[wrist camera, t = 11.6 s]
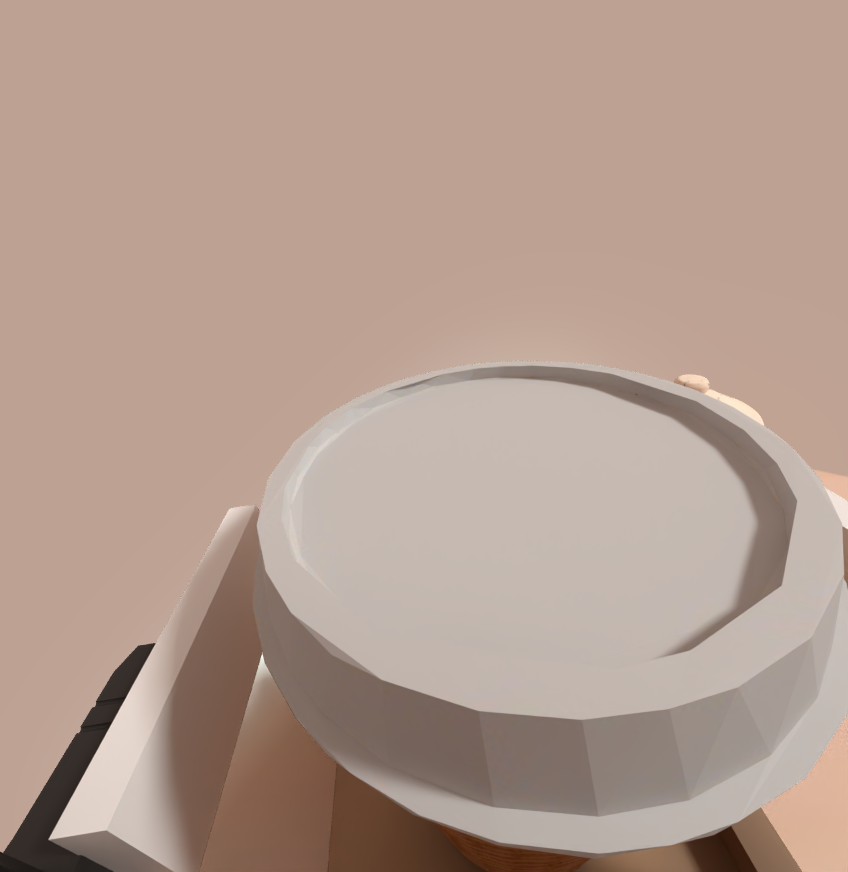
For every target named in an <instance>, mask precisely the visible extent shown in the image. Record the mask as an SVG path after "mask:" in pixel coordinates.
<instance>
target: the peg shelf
mask: <svg viewBox="0 0 848 872" xmlns="http://www.w3.org/2000/svg"><path fill="white" fill-rule="evenodd" d="M328 872H486V871H485V870H483V869H482V868H480V867H478V866H477V865H475V864H474V863H472V862H470V861H469V860H468V859H467V858H466V857H465V856H464V855H463V854H462V853H461V852H460V851H459V850H458V849H457V848H456V847H455V846H454V845H453V843H452V842H451V841H450V840H449V839H448V837H447V836H446V835H445V834H444V833H443V832H442V831H441V830H440V829H439V828H438V827H437V826H436V825H435V823H434V822H432V821H429V820H426V819H423V818H421V817H418V816H415V815H413V814H411V813H410V812H408V811H407V810H405V809H404V808H402V807H401V806H399V805H398V804H396V803H395V802H393V801H392V800H390V799H389V798H387V797H386V796H384V795H383V794H381V793H380V792H378V791H377V790H375V789H374V788H372V787H371V786H369V785H368V784H366V783H365V782H363V781H362V780H360V779H359V778H357V777H356V776H354V775H353V774H351V773H350V772H348V771H347V770H346V769H344V768H343V767H342V766H341V765H339V764H338V763H337V769H336V781H335V792H334V804H333V815H332V827H331V838H330V850H329V861H328ZM574 872H802V871H801V869H800V868H799V866H798V865H797V863H796V862H795V860H794V859H793V857H792V855H791V854H790V852H789V851H788V849H787V848H786V846H785V845H784V843H783V841H782V840H781V838H780V837H779V835H778V834H777V832H776V831H775V829H774V827H773V826H772V824H771V823H770V821H769V820H768V818H767V817H766V815H765V814H764V812H763V810H762V809H761V807H760V808H759V809H757V810H756V811H754V812H753V813H751V814H750V815H748V816H747V817H745V818H744V819H742V820H741V821H739V822H737V823H735V824H733V825H732V826H730V827H728V828H726V829H724V830H722V831H720V832H718V833H717V834H715V835H712V836H708V837H704V838H700V839H695V840H691V841H687V842H683V843H679V844H674V845H670V846H664V847H659V848H653V849H647V850H641V851H636V852H630V853H624V854H619V855H613V856H607V857H602V858H596V859H592V858H591V859H590V860H588V861H587V862H585V863H584V864H583V865H582V866H581V867H580V868H579V869H577V870H575V871H574Z"/></svg>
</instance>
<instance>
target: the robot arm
mask: <svg viewBox="0 0 848 872" xmlns="http://www.w3.org/2000/svg"><path fill="white" fill-rule="evenodd" d="M825 489H826V491H827V493H828V495H829V498H830V500H831V502H832V504H833V506H834V508H835V510H836V512H837V514H838V516H839V518H840V520H841V522H842V531H843V557H844V580H845V581H846V583H847V588H848V501H846V500H845V499H843V498H841V497H840V496H838V495H837V494H835V493H833V492H832V491H830V490H828V489H827V488H825ZM259 513H260V512H259V509H258V507H257V505H250V506H243V507H236V508H230V509H229V510H228V512H227V514H226V516H225V518H224V520H223V521H222V523H221V525H220V527H219V529H218V531H217V532H216V535H215V536H214V538H213V540H212V542H211V543H210V545H209V547H208V549H207V551H206V553H205V554H204V556H203V558H202V560H201V562H200V563H199V565H198V567H197V569H196V571H195V573H194V574H193V576H192V578H191V580H190V582H189V584H188V585H187V587H186V589H185V591H184V593H183V595H182V596H181V598H180V600H179V602H178V604H177V606H176V607H175V609H174V611H173V613H172V615H171V617H170V618H169V620H168V622H167V624H166V626H165V627H164V629H163V631H162V633H161V635H160V637H159V639H158V640H157V642H156V643H153V644H147V645H140V646H138V647H137V648H136V649H135V650H134V651H133V652H132V653H131V654H130V655H129V656H128V657H127V658H126V659H125V661H124V662H123V663H122V664H121V665H120V666H119V667H118V668H117V669H116V670H115V671H114V673H113V674H112V676H111V677H110V679H109V681H108V682H107V684H106V686H105V688H104V689H103V691H102V692H101V694H100V696H99V697H98V699H97V701H96V706H95V707H93V708H92V709H91V711H90V712H89V714H88V716H87V717H86V719H85V720H84V722H83V724H82V725H81V731H80V732H79V733H77V734H76V735H75V737H74V739H73V740H72V742H71V744H70V745H69V747H68V749H67V750H66V752H65V753H64V755H63V757H62V758H61V760H60V762H59V763H58V765H57V767H56V768H55V770H54V772H53V773H52V775H51V777H50V778H49V780H48V782H47V783H46V785H45V787H44V788H43V790H42V791H41V793H40V795H39V797H38V798H37V800H36V801H35V803H34V805H33V806H32V808H31V810H30V811H29V813H28V815H27V816H26V818H25V820H24V821H23V823H22V824H21V826H20V828H19V829H18V831H17V833H16V834H15V836H14V838H13V839H12V841H11V842H10V844H9V845H8V847H7V848H6V849H5V851H4V852H3V853H2V852H0V872H199V870H200V867H201V863H202V860H203V856H204V853H205V849H206V846H207V842H208V839H209V835H210V832H211V828H212V825H213V821H214V818H215V815H216V811H217V808H218V804H219V801H220V797H221V794H222V790H223V787H224V783H225V780H226V776H227V773H228V769H229V766H230V762H231V759H232V755H233V752H234V749H235V745H236V742H237V738H238V735H239V731H240V728H241V724H242V721H243V717H244V714H245V710H246V707H247V703H248V700H249V696H250V693H251V690H252V686H253V683H254V679H255V676H256V672H257V669H258V665H259V662H260V658H261V655H262V648H261V643H260V639H259V634H258V630H257V625H256V621H255V616H254V612H253V608H252V601H253V591H254V580H255V569H256V559H257V556H258V553H259V551H260V547H259V540H258V533H257V526H256V525H257V521H258V517H259Z"/></svg>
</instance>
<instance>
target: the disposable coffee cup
mask: <svg viewBox="0 0 848 872" xmlns="http://www.w3.org/2000/svg"><path fill="white" fill-rule="evenodd" d="M256 526H257V533H258V540H259V547H260V551H259V553H258V556H257V559H256V569H255V580H254V591H253V601H252V608H253V612H254V616H255V621H256V625H257V630H258V634H259V639H260V643H261V648H262V652H263V657H264V661H265V664H266V666H267V668H268V669H269V671H270V673H271V675H272V677H273V678H274V680H275V682H276V684H277V686H278V687H279V689H280V691H281V693H282V695H283V696H284V698H285V700H286V702H287V703H288V705H289V707H290V709H291V711H292V712H293V714H294V716H295V718H296V719H297V720H298V721H299V723H300V724H301V725H302V726H303V727H304V729H305V730H306V731H307V732H308V733H309V734H310V736H311V737H312V738H313V739H314V740H315V741H316V743H317V744H318V745H319V746H320V747H321V748H322V750H323V751H324V752H325V753H326V754H327V755H328V756H329V757H330V758H332V759H333V760H334V761H335V762H337V763H338V764H339V765H341V766H342V767H343V768H344V769H346V770H347V771H348V772H350V773H351V774H353V775H354V776H356V777H357V778H359V779H360V780H362V781H363V782H365V783H366V784H368V785H369V786H371V787H372V788H374V789H375V790H377V791H378V792H380V793H381V794H383V795H384V796H386V797H387V798H389V799H390V800H392V801H393V802H395V803H396V804H398V805H399V806H401V807H402V808H404V809H405V810H407V811H408V812H410V813H411V814H413V815H415V816H418V817H421V818H423V819H426V820H429V821H432V822H434V823H435V825H436V826H437V827H438V828H439V829H440V830H441V831H442V832H443V833H444V834H445V835H446V836H447V837H448V839H449V840H450V841H451V842H452V843H453V845H454V846H455V847H456V848H457V849H458V850H459V851H460V852H461V853H462V854H463V855H464V856H465V857H466V858H467V859H468V860H469V861H470V862H472V863H474V864H475V865H477V866H478V867H480V868H482V869H483V870H485V871H486V872H574V871H575V870H577V869H579V868H580V867H581V866H582V865H583V864H584V863H585V862H587V861H588V860H590V859H591V858H592V859H596V858H602V857H607V856H613V855H619V854H624V853H630V852H636V851H641V850H647V849H653V848H659V847H664V846H670V845H674V844H679V843H683V842H687V841H691V840H695V839H700V838H704V837H708V836H712V835H715V834H717V833H718V832H720V831H722V830H724V829H726V828H728V827H730V826H732V825H733V824H735V823H737V822H739V821H741V820H742V819H744V818H745V817H747V816H748V815H750V814H751V813H753V812H754V811H756V810H757V809H759V808H760V807H762V806H763V805H765V804H767V803H768V802H770V801H771V800H773V799H774V798H776V797H777V796H779V795H780V794H782V793H783V792H785V791H786V790H788V789H790V788H791V787H793V786H794V785H796V784H797V783H799V782H800V781H802V780H803V779H805V778H806V777H807V776H808V774H809V773H810V771H811V770H812V768H813V766H814V765H815V763H816V762H817V760H818V759H819V757H820V756H821V754H822V753H823V751H824V750H825V748H826V747H827V745H828V743H829V742H830V740H831V739H832V737H833V736H834V734H835V733H836V731H837V730H838V728H839V727H840V725H841V724H842V722H843V721H844V719H845V717H846V716H847V714H848V588H847V583H846V581H845V580H844V557H843V531H842V522H841V520H840V518H839V516H838V514H837V512H836V510H835V508H834V506H833V504H832V502H831V500H830V498H829V495H828V493H827V491H826V489H825V487H824V485H823V483H822V481H821V479H820V478H819V477H818V476H817V474H816V473H815V472H814V471H813V470H812V469H811V468H810V467H809V466H808V464H807V463H806V462H805V461H804V460H803V459H802V458H801V457H800V456H799V454H798V453H797V452H796V451H795V450H794V449H793V448H792V447H791V446H790V445H789V444H787V443H786V442H785V441H783V440H782V439H781V438H780V437H778V436H777V435H776V434H775V433H773V432H772V431H771V430H770V429H768V428H766V427H765V426H763V425H762V424H760V423H758V422H757V421H755V420H753V419H752V418H750V417H749V416H747V415H745V414H744V413H742V412H740V411H739V410H737V409H736V408H734V407H732V406H730V405H728V404H726V403H723V402H721V401H719V400H717V399H715V398H712V397H710V396H708V395H706V394H704V393H701V392H699V391H697V390H694V389H691V388H688V387H685V386H682V385H679V384H676V383H673V382H670V381H667V380H663V379H659V378H656V377H652V376H649V375H645V374H641V373H637V372H632V371H627V370H622V369H617V368H612V367H606V366H598V365H589V364H582V363H571V362H545V361H543V362H542V361H505V362H490V363H481V364H471V365H463V366H458V367H453V368H448V369H444V370H438V371H434V372H428V373H425V374H421V375H417V376H413V377H409V378H405V379H402V380H399V381H396V382H394V383H391V384H388V385H385V386H383V387H380V388H378V389H376V390H373V391H371V392H369V393H366V394H364V395H362V396H359V397H357V398H355V399H354V400H352V401H350V402H348V403H347V404H345V405H343V406H341V407H339V408H338V409H336V410H334V411H333V412H331V413H329V414H327V415H326V416H324V418H322V419H321V420H320V421H318V422H317V423H316V424H315V425H314V426H312V427H311V428H310V429H309V430H308V431H306V432H305V433H304V434H303V435H302V436H300V437H299V438H298V439H297V440H296V441H295V442H294V443H293V444H292V446H291V447H290V448H289V450H288V451H287V453H286V454H285V455H284V457H283V458H282V460H281V461H280V463H279V464H278V465H277V467H276V468H275V470H274V471H273V473H272V474H271V475H270V477H269V478H268V481H267V485H266V489H265V493H264V497H263V501H262V505H261V509H260V513H259V517H258V521H257V525H256Z"/></svg>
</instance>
